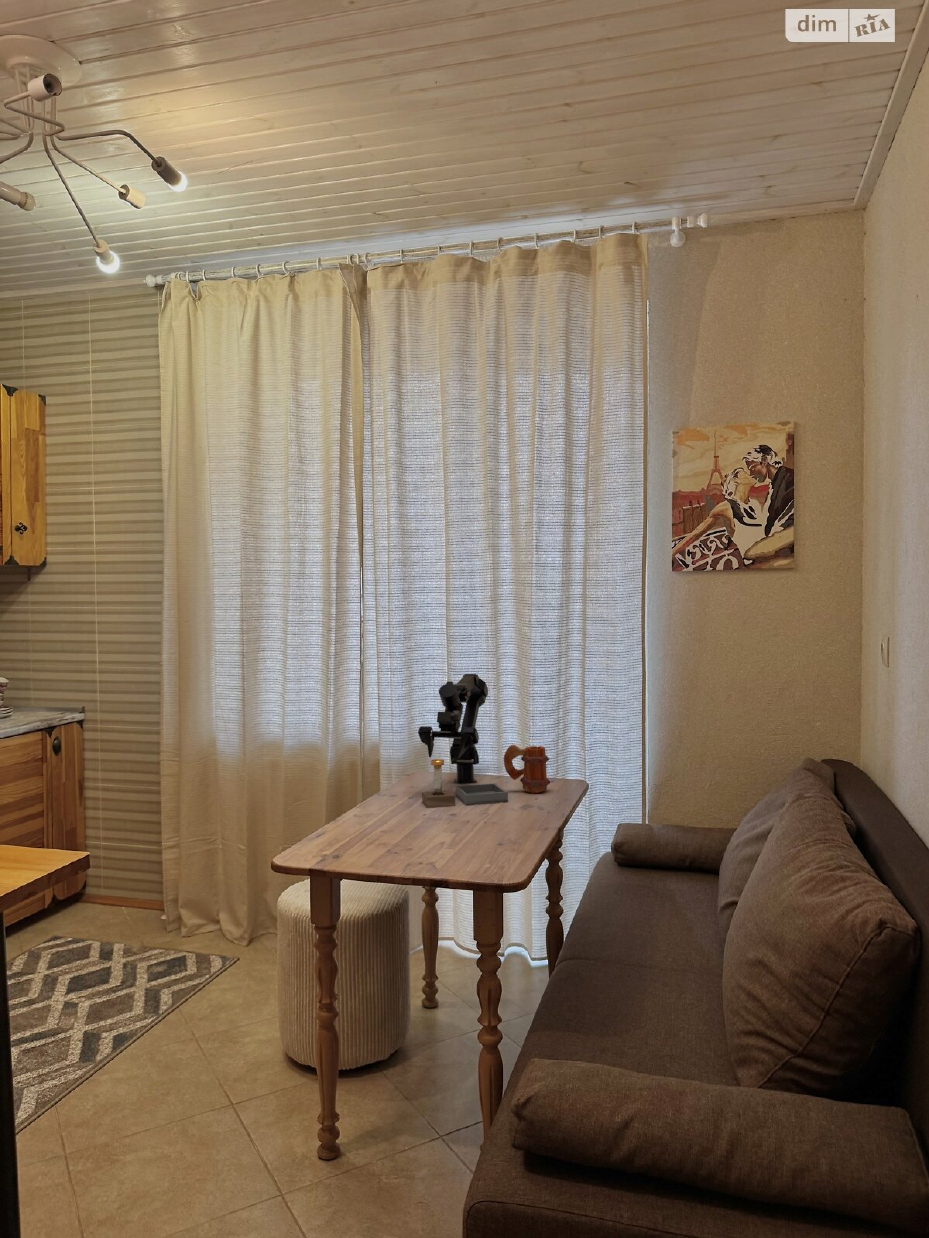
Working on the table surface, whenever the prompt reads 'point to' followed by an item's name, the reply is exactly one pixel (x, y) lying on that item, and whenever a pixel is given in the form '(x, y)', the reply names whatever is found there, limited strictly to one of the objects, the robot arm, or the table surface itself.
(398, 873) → the table surface
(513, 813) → the table surface
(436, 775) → the pin
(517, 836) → the table surface
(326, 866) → the table surface
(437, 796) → the hitch block
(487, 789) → the tray
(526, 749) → the mug
